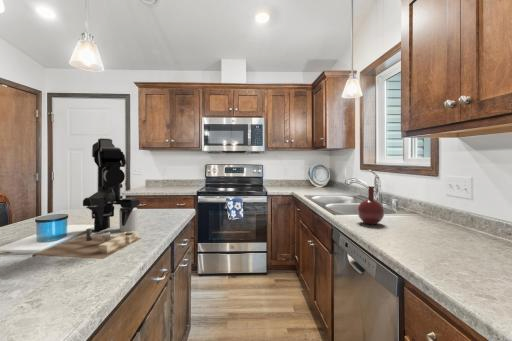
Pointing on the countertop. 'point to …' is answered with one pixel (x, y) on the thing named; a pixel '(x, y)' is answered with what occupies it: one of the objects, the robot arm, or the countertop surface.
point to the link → (117, 242)
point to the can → (130, 221)
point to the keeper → (104, 235)
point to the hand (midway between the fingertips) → (111, 225)
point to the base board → (81, 247)
